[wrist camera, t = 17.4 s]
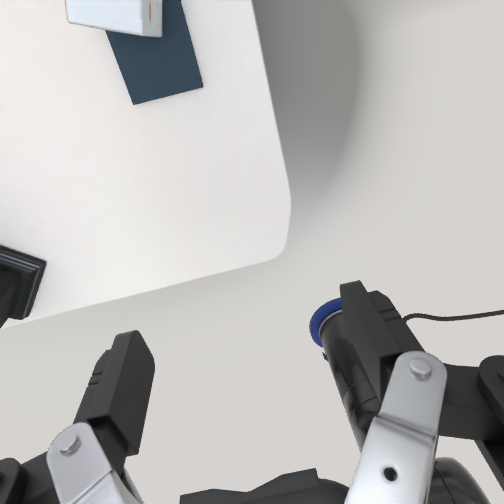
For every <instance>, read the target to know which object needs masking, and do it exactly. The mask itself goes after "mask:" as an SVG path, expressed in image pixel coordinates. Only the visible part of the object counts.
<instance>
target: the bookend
mask: <svg viewBox="0 0 504 504" xmlns="http://www.w3.org/2000/svg"><path fill="white" fill-rule="evenodd" d="M45 266H46V262H44V261H42V260H39V259H36V258H33V257H31V256H28V255H25V254H22V253H19V252H16V251H13V250H10V249H7V248H5V247H1V246H0V328H1V327H2V326H3V324H4V323H5V322H6V320H7V319H8V318H12V319H19V320H22V319H24V318H26V317H28V316H29V314H30V312H31V309H32V306H33V303H34V300H35V297H36V294H37V291H38V288H39V284H40V282H41V278H42V276H43V272H44V269H45Z"/></svg>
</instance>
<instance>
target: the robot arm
mask: <svg viewBox="0 0 504 504" xmlns="http://www.w3.org/2000/svg"><path fill="white" fill-rule="evenodd" d="M340 295H341V305H342V308H339V309H336V310H334V311H332V312H330V313H328V314H327V315H326V316H325V317H324V318H323V319H322V320H321V322H320V324H319V326H318V335H319V338H320V340H321V342H322V345H323V347H324V350H325V353H326V355H325V354H324V353H323V356H324V359H326V360H327V361H328V362H329V364H330V368H331V371H332V373H333V376H334V379H335V382H336V385H337V388H338V391H339V393H340V396H341V399H342V402H343V405H344V407H345V411H346V413H347V416H348V419H349V422H350V424H351V427H352V430H353V433H354V436H355V438H356V441H357V444H358V447H359V450H360V453H361V455H360V458H359V461H358V464H357V467H356V470H355V473H354V476H353V479H352V483H351V485H350V488H349V487H347V486H345V485H343V484H340V483H338V482H335V481H331V480H327V479H320V478H318V476H317V471H316V468H313V469H308V470H303V471H298V472H293V473H288V474H283V475H281V476H279V477H277V478H275V479H273V480H271V481H269V482H267V483H265V484H264V485H262V486H259V487H258V488H256V489H254V490H252V491H249V492H239V491H229V490H219V489H209V490H205V491H200V492H195V493H190V494H185V495H181V496H180V504H490V502H489V500H488V498H487V497H486V495H485V494H484V492H483V491H482V489H481V488H480V486H479V485H478V483H477V482H476V480H475V479H474V478H473V476H472V475H471V474H470V473H469V472H468V471H467V469H466V468H465V467H464V466H463V465H462V464H461V463H459V462H458V461H457V460H455V459H453V458H449V457H441V458H435V455H436V450H437V445H438V439H439V435H440V436H448V437H455V438H464V439H471V440H474V441H475V443H476V444H477V446H478V448H479V450H480V451H481V453H482V455H483V456H484V458H485V460H486V462H487V463H488V465H489V467H490V468H491V470H492V472H493V473H494V475H495V477H496V479H497V480H498V482H499V484H500V486H501V487H502V489H503V491H504V356H503V355H496V356H490V357H487V358H485V359H484V360H483V361H482V362H481V363H480V366H479V367H469V366H456V365H450V364H445V363H442V362H441V361H440V360H439V359H438V358H437V357H435V356H433V355H431V354H429V353H426V352H425V351H424V349H423V348H422V346H421V345H420V343H419V342H418V341H417V339H416V338H415V336H414V335H413V333H412V332H411V330H410V329H409V327H408V326H407V324H406V321H407V320H409V319H411V318H426V319H431V320H437V321H455V320H465V319H473V318H481V317H488V316H495V315H501V314H504V310H500V311H494V312H487V313H480V314H473V315H464V316H453V317H438V316H432V315H427V314H419V313H417V314H416V313H415V314H410V315H407V316H405V317H404V318H401V315H400V314H399V313H398V311H397V310H396V309H395V307H394V305H393V304H392V302H391V301H390V299H389V298H388V297H387V296H385V295H383V294H382V293H380V292H379V291H377V290H376V291H372V292H367V291H366V289H365V287H364V286H363V284H362V283H361V281H360V280H358V281H354V282H349V283H345V284H341V285H340ZM154 372H155V363H154V358H153V356H152V354H151V352H150V350H149V348H148V347H147V345H146V343H145V341H144V339H143V337H142V336H141V334H140V332H139V331H137V330H134V331H130V332H125V333H121V334H118V335H117V336H116V337H115V339H114V342H113V345H112V348H111V349H110V350H106V351H105V353H104V354H103V355H102V357H100V359H99V360H98V361H97V363H96V365H95V368H94V371H93V373H92V377H91V378H90V381H89V383H88V385H89V386H88V387H87V389H86V391H85V394H84V396H83V399H82V401H81V404H80V407H79V409H78V412H77V414H76V417H75V420H74V422H73V424H72V425H71V426H69V427H67V428H66V429H64V430H63V431H62V432H60V433H59V434H58V435H57V436H56V438H55V439H54V440H53V441H52V443H51V444H50V446H49V448H48V451H46V452H45V453H43V454H41V455H39V456H37V457H35V458H33V459H31V460H29V461H27V462H25V463H23V464H20V463H19V462H18V461H17V460H15V459H14V458H5V459H3V460H0V504H144V502H143V500H142V498H141V496H140V495H139V493H138V491H137V489H136V487H135V485H134V484H133V482H132V480H131V478H130V476H129V474H128V473H127V471H126V469H125V468H124V463H125V458H126V457H127V456H132V455H137V454H138V453H139V448H140V442H141V438H142V433H143V428H144V423H145V418H146V412H147V408H148V403H149V397H150V392H151V387H152V382H153V377H154Z"/></svg>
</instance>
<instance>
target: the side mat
mask: <svg viewBox="0 0 504 504" xmlns="http://www.w3.org/2000/svg"><path fill="white" fill-rule="evenodd" d="M105 31H106V33H107V36H108V39H109V41H110V44H111V47H112V49H113V52H114V55H115V57H116V60H117V63H118V65H119V68H120V71H121V73H122V76H123V78H124V81H125V84H126V86H127V89H128V92H129V94H130V97H131V100H132V102H133V105H135V104H139V103H143V102H147V101H151V100H155V99H159V98H163V97H166V96H170V95H174V94H178V93H182V92H186V91H190V90H194V89H198V88H202V87H203V83H202V79H201V76H200V72H199V68H198V65H197V61H196V57H195V53H194V50H193V46H192V42H191V38H190V35H189V31H188V27H187V23H186V20H185V16H184V12H183V8H182V5H181V1H180V0H162V37H151V36H141V35H134V34H128V33H121V32H115V31H109V30H105Z"/></svg>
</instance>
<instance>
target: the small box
mask: <svg viewBox="0 0 504 504" xmlns="http://www.w3.org/2000/svg"><path fill="white" fill-rule="evenodd" d="M65 4H66V13H67V21H68V22H69V23H71V24H76V25H81V26H86V27H91V28H97V29H103V30H109V31H115V32H121V33H128V34H134V35H141V36H151V37H162V0H65Z"/></svg>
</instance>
